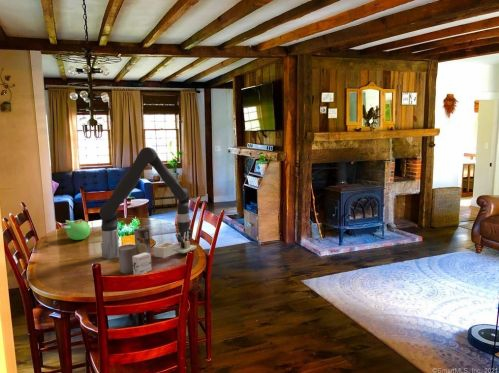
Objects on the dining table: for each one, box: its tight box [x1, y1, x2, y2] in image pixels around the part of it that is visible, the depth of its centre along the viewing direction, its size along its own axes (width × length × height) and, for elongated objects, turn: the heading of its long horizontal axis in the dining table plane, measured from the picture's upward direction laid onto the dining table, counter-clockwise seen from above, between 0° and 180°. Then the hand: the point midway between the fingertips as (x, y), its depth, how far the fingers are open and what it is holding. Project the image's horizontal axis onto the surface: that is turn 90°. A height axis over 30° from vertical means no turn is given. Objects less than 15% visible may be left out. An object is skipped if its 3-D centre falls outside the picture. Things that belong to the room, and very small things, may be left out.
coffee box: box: [133, 227, 152, 255], centre depth 247 cm, size 9×6×16 cm
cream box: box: [153, 241, 177, 259], centre depth 246 cm, size 11×8×6 cm
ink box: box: [132, 253, 153, 276], centre depth 210 cm, size 9×5×12 cm, turn 141°
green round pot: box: [63, 218, 91, 241], centre depth 285 cm, size 18×17×15 cm
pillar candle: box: [118, 244, 137, 275], centre depth 219 cm, size 10×10×15 cm
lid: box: [173, 239, 198, 254], centre depth 247 cm, size 12×9×6 cm
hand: (184, 247), depth 247 cm, fingers closed on lid, 2 cm apart
